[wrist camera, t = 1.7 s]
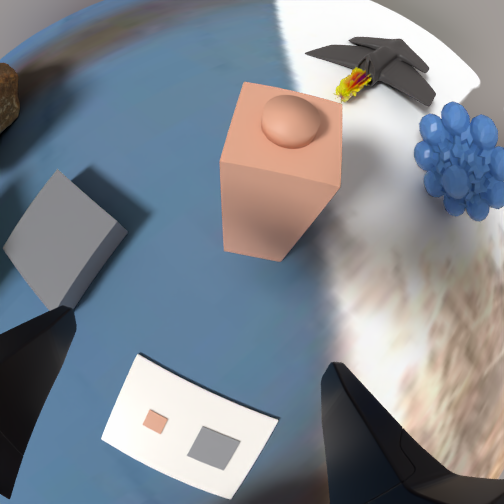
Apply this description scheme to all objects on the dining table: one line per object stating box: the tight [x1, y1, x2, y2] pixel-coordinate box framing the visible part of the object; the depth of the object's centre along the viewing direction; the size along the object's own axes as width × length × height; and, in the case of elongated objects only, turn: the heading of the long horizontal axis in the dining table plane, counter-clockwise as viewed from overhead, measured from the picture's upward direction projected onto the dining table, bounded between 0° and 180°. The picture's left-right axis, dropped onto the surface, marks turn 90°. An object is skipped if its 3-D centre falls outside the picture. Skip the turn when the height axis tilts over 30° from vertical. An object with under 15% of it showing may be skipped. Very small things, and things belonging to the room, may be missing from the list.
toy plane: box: [305, 37, 436, 106], centre depth 28 cm, size 25×17×5 cm
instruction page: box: [101, 354, 278, 499], centre depth 18 cm, size 12×9×1 cm
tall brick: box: [220, 82, 342, 262], centre depth 17 cm, size 4×4×14 cm
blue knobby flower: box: [414, 102, 504, 221], centre depth 20 cm, size 12×7×12 cm, turn 46°
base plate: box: [3, 169, 128, 310], centre depth 20 cm, size 9×9×3 cm
